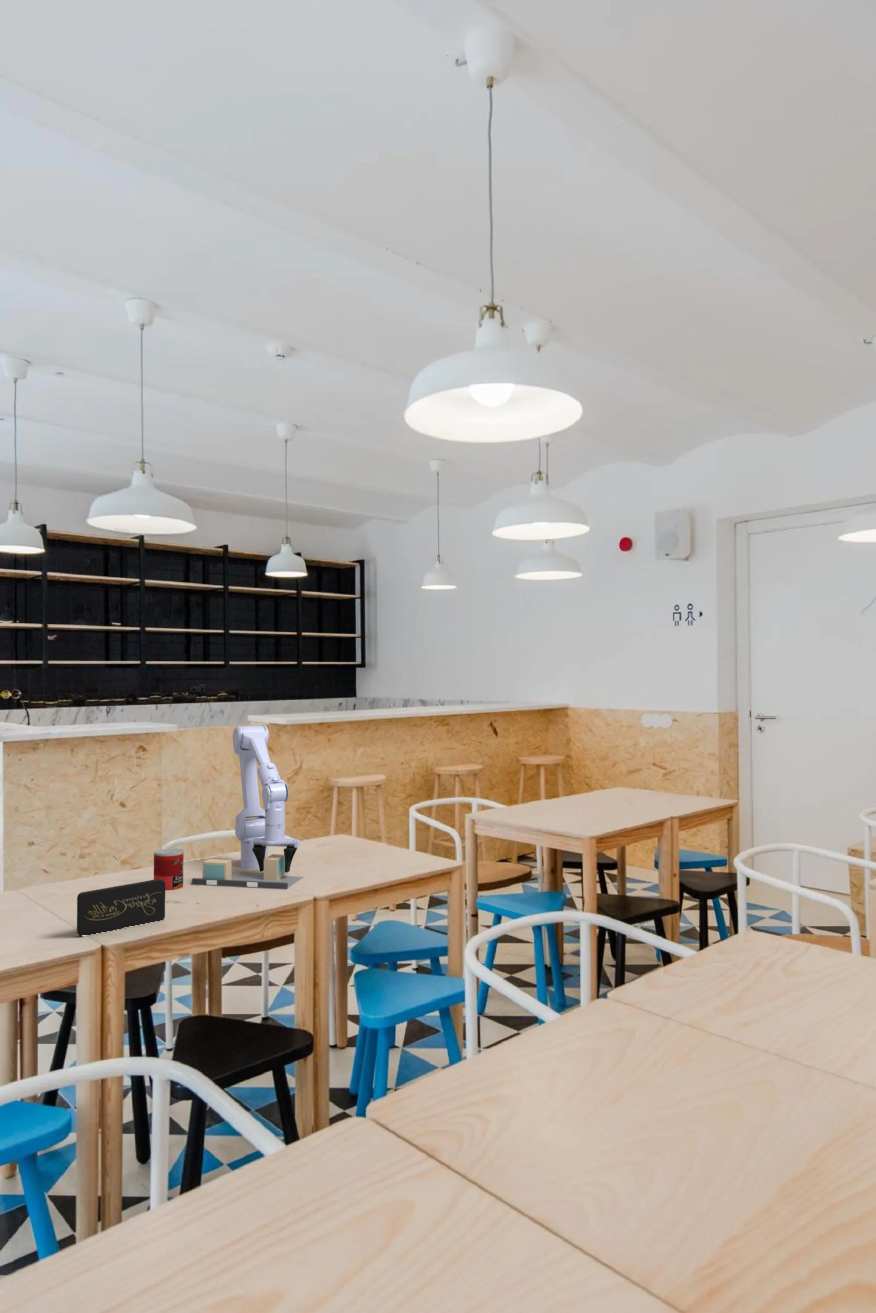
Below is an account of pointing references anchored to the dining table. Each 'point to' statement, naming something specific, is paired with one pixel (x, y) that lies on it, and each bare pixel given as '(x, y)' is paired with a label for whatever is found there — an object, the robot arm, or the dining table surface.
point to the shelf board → (249, 882)
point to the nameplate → (120, 907)
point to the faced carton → (217, 869)
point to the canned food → (169, 867)
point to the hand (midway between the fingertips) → (274, 871)
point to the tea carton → (274, 867)
